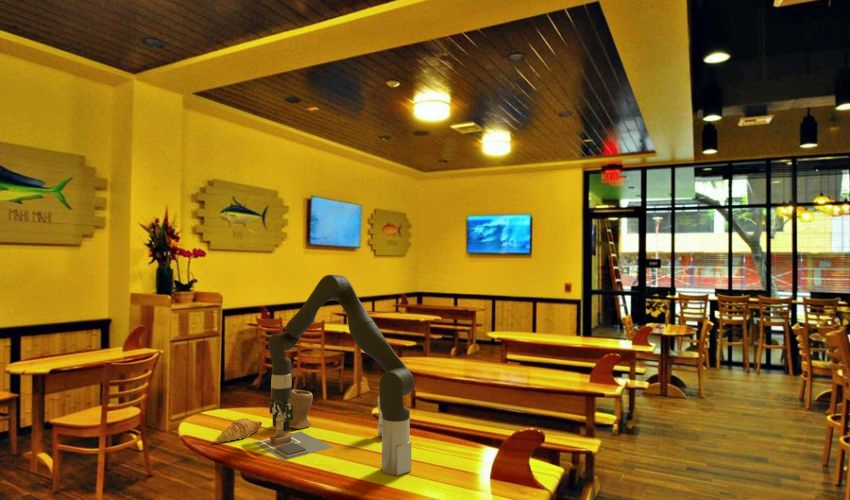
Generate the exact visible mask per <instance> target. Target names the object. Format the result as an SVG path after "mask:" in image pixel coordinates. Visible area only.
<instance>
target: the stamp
mask: <svg viewBox="0 0 850 500" xmlns="http://www.w3.org/2000/svg"><path fill="white" fill-rule="evenodd" d="M285 418H286V417H285ZM275 427H276V428H275V434H273V435H269V436H270V437H269V439H270V442H272V443H273V444H275V445H277V446H278V445H282V444H286V443H290V442H291V436H289V435H288V433H286V432H284V431H283V418H282V416H281V415H280V414H279V415H278V416H277V417H276V426H275Z"/></svg>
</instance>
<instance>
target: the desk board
mask: <svg viewBox="0 0 850 500" xmlns="http://www.w3.org/2000/svg"><path fill="white" fill-rule="evenodd" d="M287 435H289V436H291V442H290V443H286V444H282V445H278V446H277V445H275V444H273V443H272V442H270V438H267V439H263V440H260V441H258V440H257V441H256V442H253V444H255V445H256V446H259V447H260V448H262V449H263V450H265V451H267V452H268V453H270V454H271V455H274V456H275V457H277V458H279V460H282V461H289V460H291V459H295V458H299V457H302V456H306V455H310V454H314V453H317V452H321V451H324V450H328V449H332V448H333V446H332V445H330V444H328V443H326V442H324V441H322V440H319V439H317V438H316V437H313V436H312V435H309V434H307V433H305V432H303V431H297V432H293V433H287Z"/></svg>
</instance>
